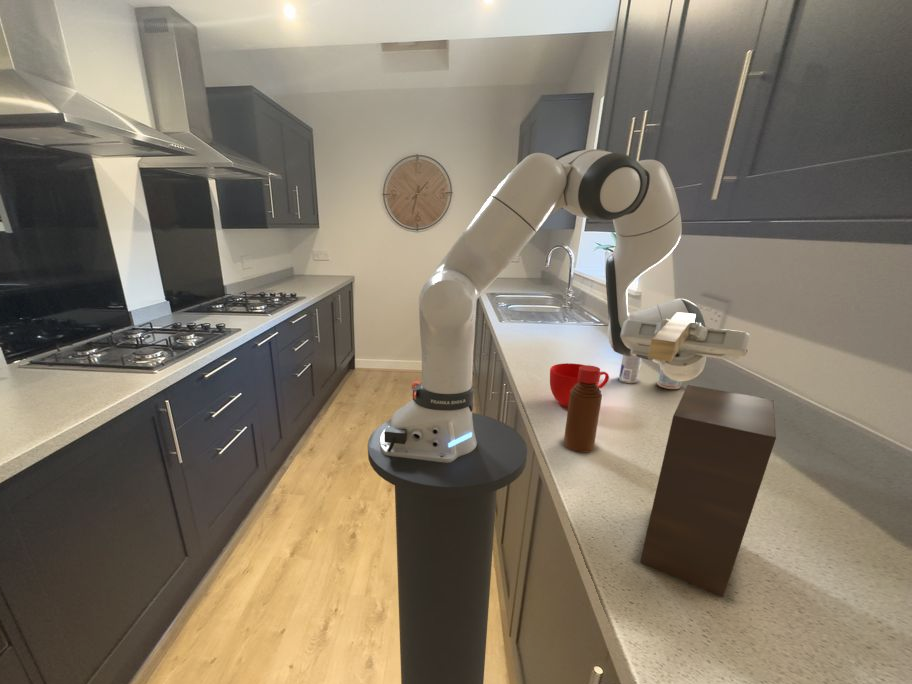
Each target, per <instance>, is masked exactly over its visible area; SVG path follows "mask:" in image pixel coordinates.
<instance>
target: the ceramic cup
mask: <svg viewBox="0 0 912 684" xmlns="http://www.w3.org/2000/svg"><path fill="white" fill-rule="evenodd" d="M583 365H584V364H582V363H572V362H571V363H565V362H564V363H557V364H554V365H552V366H551V367H550V369H549V387H550V392H551V393H552V395H553V397H554V399H555V400H556V401H557V403H558V404H559V405H560V406H562V407H565V408H568V405H569V398H570V391H571V390H572V387H574V386H575V385H576V384H577V383H578V382H579V380H578V372H579V367H580V366H583ZM601 376H604V379H603V381H602V382H601V383H600V380H601ZM609 379H610V375H609V373H608V372H606V371H600V374H599V380H598V382H597V383H596V384H597V385H598V387H599V389H600V390H601V389H602V388H604V386H606V385H607V383H608V382H609Z"/></svg>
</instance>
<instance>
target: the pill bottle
mask: <svg viewBox="0 0 912 684" xmlns="http://www.w3.org/2000/svg"><path fill="white" fill-rule="evenodd" d="M682 382H683V381H675V380H672V379H670V378H668V377H667V376H666V375H665V374H664V373H663V372H662V370H661V368H660V370H659V375H658V380H657V385H658V386H659V387H661V388H663V389H668V390H679V389H680V388H681V387H682Z"/></svg>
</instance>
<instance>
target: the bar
mask: <svg viewBox="0 0 912 684" xmlns="http://www.w3.org/2000/svg"><path fill="white" fill-rule="evenodd" d="M695 316H696V314H691V313H679V312H677V313H676V314H675V315H674V316H673V317H672V318H671V319H670V320H669V321H668V322H667V324H666V325H665V326H664V327H663V328H662V329H661V330H660V331H659V332H658V333H657V334H656V335H655V336H654V337H653V338H652V340H651V345H650V350H649V355H648V358H650V359H656V360H663V361H670V362H671V361H672V359H673V358H674V356H675V355H676V353H677V352H678V350H679V349H680V347H681V346H682V344H683V343H684V341H685V340H686V338H687V337H688V335H689V328H690V324H691V322H694V320H695Z"/></svg>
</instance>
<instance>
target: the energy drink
mask: <svg viewBox="0 0 912 684" xmlns="http://www.w3.org/2000/svg"><path fill="white" fill-rule="evenodd" d="M642 359H643V358H639V357H636V356H633V355H632V356H629V357H628V356H624V355H622V358H621V365H620V371H619V377H618V380H619V381H620V382H622V383H625V384H636V383H637V382H638V381H639V375H640V371H641V365H642Z"/></svg>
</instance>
